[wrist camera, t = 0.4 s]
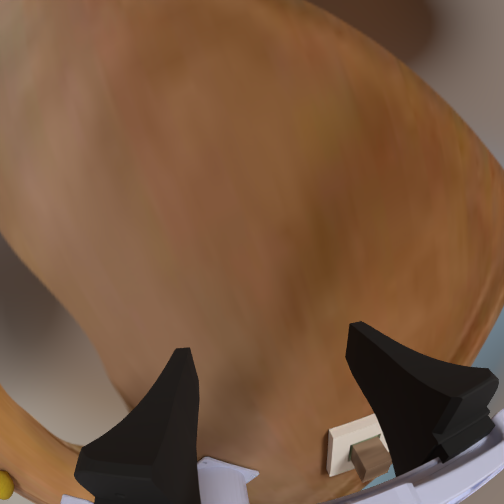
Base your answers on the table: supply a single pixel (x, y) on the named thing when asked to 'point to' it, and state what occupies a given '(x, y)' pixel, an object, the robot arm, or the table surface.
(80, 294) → the table surface
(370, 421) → the sleeve block
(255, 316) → the table surface
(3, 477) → the lemon
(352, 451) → the post
